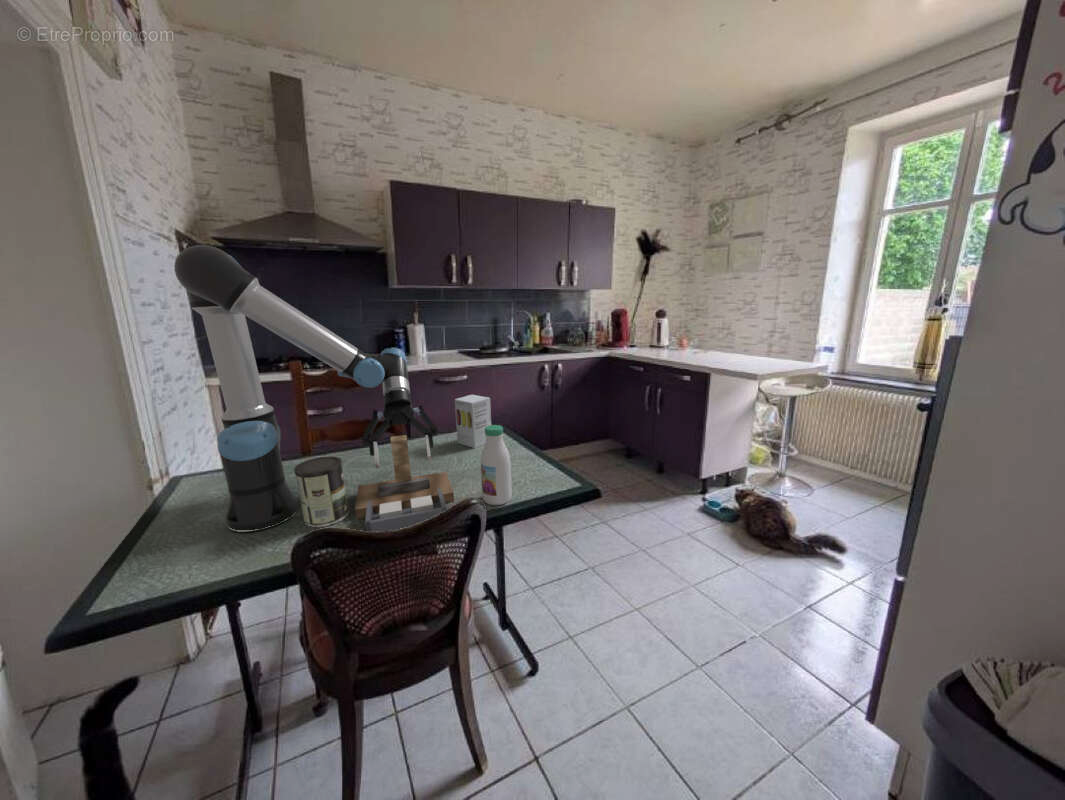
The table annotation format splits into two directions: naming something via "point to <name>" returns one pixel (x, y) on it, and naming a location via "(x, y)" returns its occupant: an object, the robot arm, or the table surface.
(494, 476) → the milk bottle
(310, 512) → the coffee can
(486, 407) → the supplement box
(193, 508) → the table surface
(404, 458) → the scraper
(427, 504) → the tile right
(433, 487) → the flat wooden board
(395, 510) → the tile left
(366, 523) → the tray
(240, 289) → the robot arm
